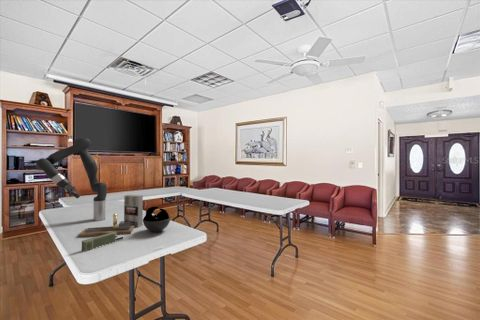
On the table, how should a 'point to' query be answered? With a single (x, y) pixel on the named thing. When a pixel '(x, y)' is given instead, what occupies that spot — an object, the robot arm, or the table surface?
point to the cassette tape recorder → (133, 209)
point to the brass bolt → (115, 221)
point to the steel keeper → (124, 225)
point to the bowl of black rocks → (156, 219)
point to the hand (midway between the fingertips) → (78, 197)
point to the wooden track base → (103, 231)
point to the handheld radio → (99, 241)
